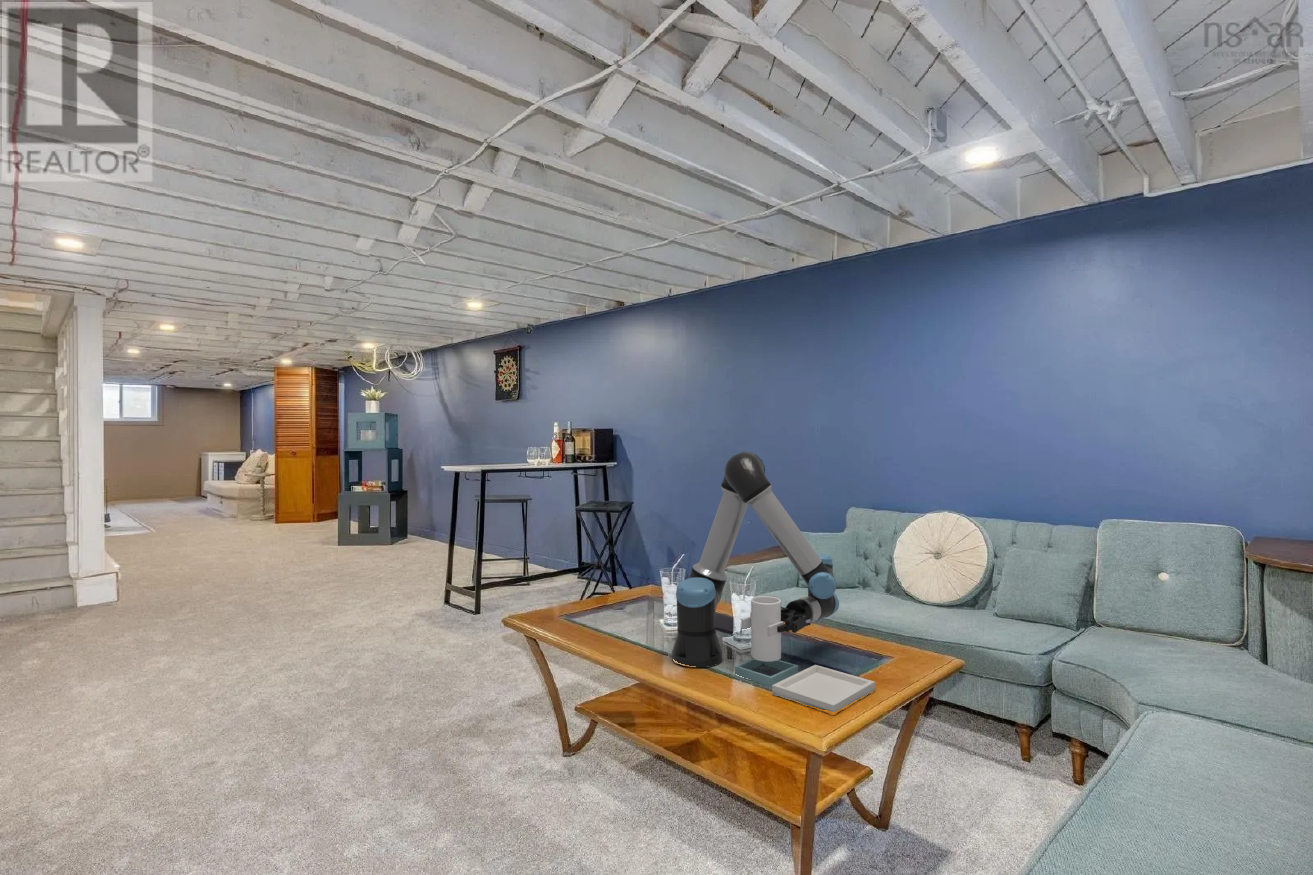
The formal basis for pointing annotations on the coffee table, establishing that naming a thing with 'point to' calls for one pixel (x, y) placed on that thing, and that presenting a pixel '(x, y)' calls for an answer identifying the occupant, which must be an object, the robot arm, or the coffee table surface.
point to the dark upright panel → (724, 623)
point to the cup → (765, 628)
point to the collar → (747, 672)
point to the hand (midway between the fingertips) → (755, 627)
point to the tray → (823, 688)
